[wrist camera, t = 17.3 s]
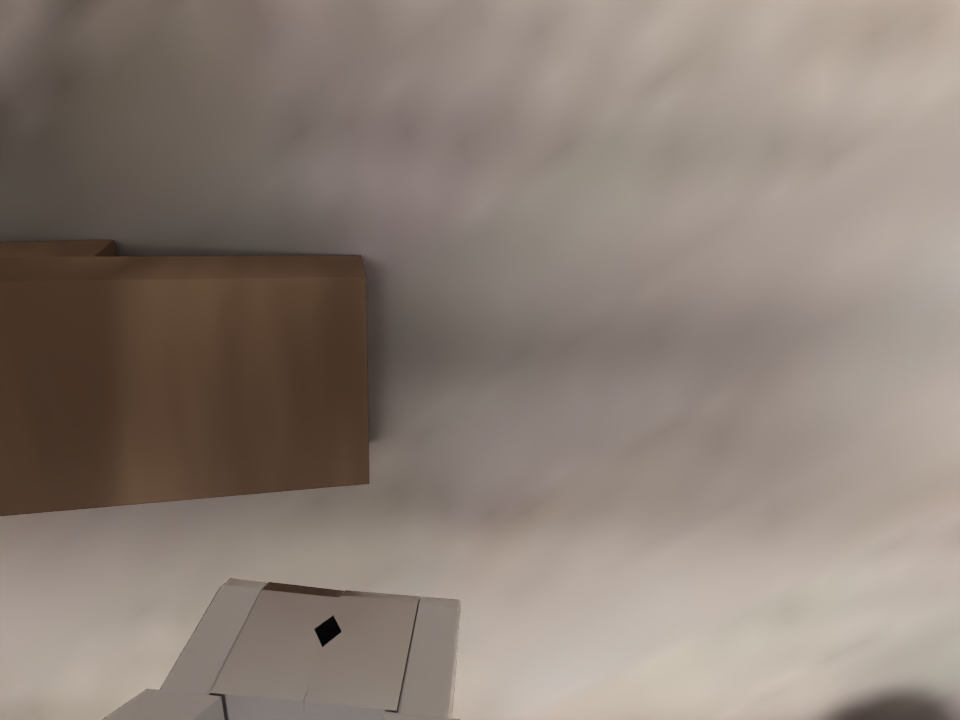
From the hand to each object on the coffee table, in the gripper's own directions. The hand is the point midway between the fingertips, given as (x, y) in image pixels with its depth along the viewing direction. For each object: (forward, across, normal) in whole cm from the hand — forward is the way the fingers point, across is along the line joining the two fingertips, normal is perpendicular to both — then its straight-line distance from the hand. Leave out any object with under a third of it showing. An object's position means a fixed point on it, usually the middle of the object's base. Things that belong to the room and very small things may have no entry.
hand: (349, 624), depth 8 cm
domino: (+7, +1, 0) cm, 7 cm away
